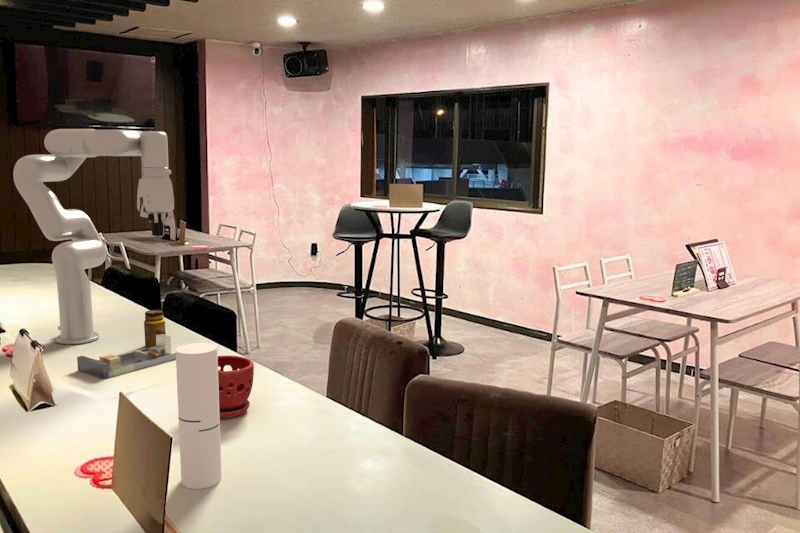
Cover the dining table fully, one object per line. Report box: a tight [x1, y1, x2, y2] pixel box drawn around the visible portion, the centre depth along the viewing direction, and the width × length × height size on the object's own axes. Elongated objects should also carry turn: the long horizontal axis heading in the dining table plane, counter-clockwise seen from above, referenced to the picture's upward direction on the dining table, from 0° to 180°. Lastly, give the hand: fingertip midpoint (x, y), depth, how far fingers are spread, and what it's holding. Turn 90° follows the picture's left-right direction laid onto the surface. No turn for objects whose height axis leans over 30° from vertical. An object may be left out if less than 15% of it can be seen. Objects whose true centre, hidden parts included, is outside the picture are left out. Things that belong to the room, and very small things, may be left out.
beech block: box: [99, 353, 121, 371], centre depth 191 cm, size 5×3×4 cm, turn 55°
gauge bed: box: [76, 346, 176, 380], centre depth 196 cm, size 12×24×5 cm, turn 145°
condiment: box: [143, 309, 167, 349], centre depth 214 cm, size 7×8×12 cm
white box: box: [133, 334, 172, 361], centre depth 201 cm, size 8×9×6 cm
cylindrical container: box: [175, 342, 223, 490], centre depth 128 cm, size 7×7×25 cm
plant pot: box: [218, 355, 255, 419], centre depth 163 cm, size 13×13×12 cm
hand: (157, 235), depth 211 cm, fingers closed
